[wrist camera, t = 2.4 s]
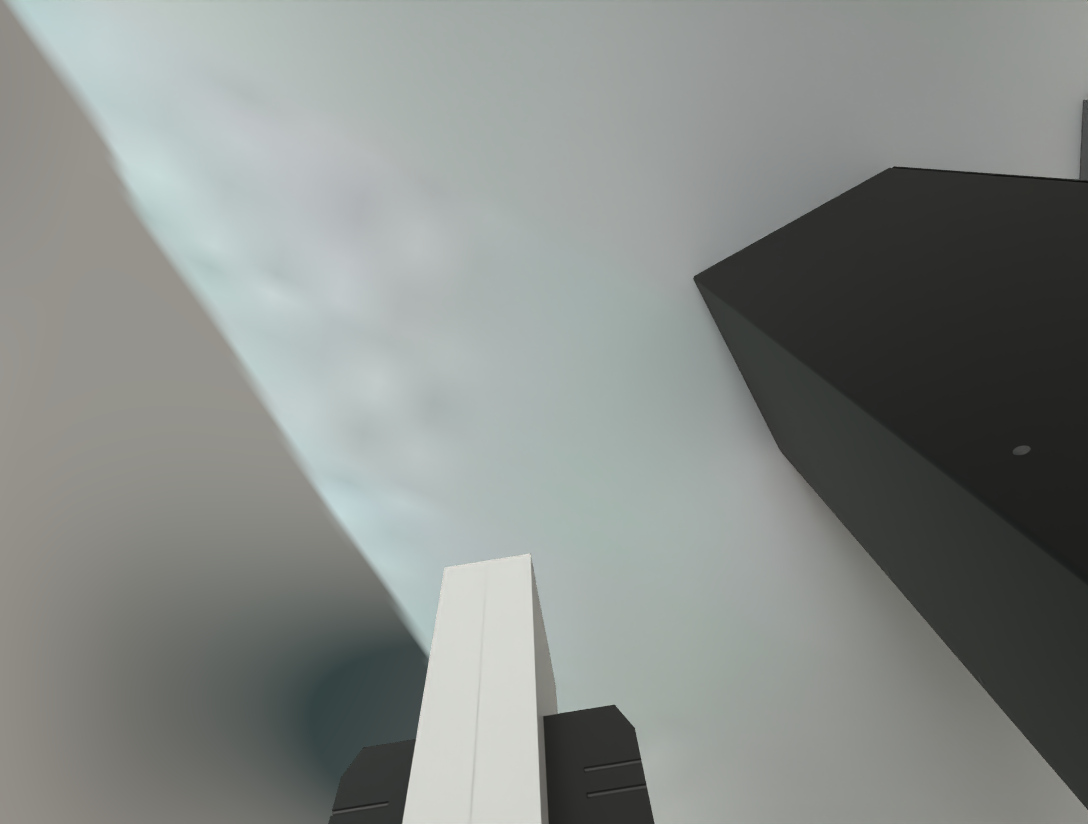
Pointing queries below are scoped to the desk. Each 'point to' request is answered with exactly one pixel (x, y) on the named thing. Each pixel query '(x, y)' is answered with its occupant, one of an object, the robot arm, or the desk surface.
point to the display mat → (1084, 144)
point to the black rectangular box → (943, 411)
